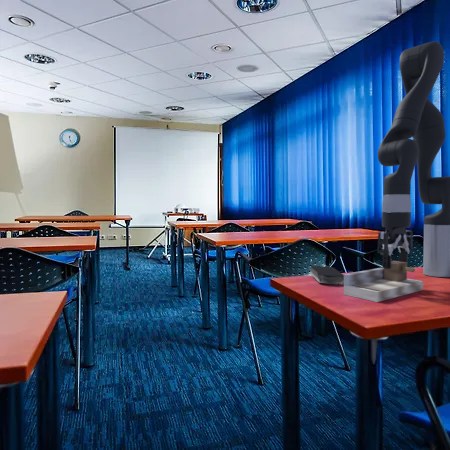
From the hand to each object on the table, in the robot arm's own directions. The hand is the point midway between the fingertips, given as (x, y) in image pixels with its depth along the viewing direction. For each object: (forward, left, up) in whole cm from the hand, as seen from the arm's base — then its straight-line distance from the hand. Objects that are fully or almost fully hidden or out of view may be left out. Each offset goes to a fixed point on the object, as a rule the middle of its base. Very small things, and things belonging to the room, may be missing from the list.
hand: (395, 267), depth 105 cm
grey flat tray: (+7, +1, -6) cm, 9 cm away
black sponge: (+6, -20, -7) cm, 22 cm away
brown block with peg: (0, +2, -4) cm, 4 cm away
